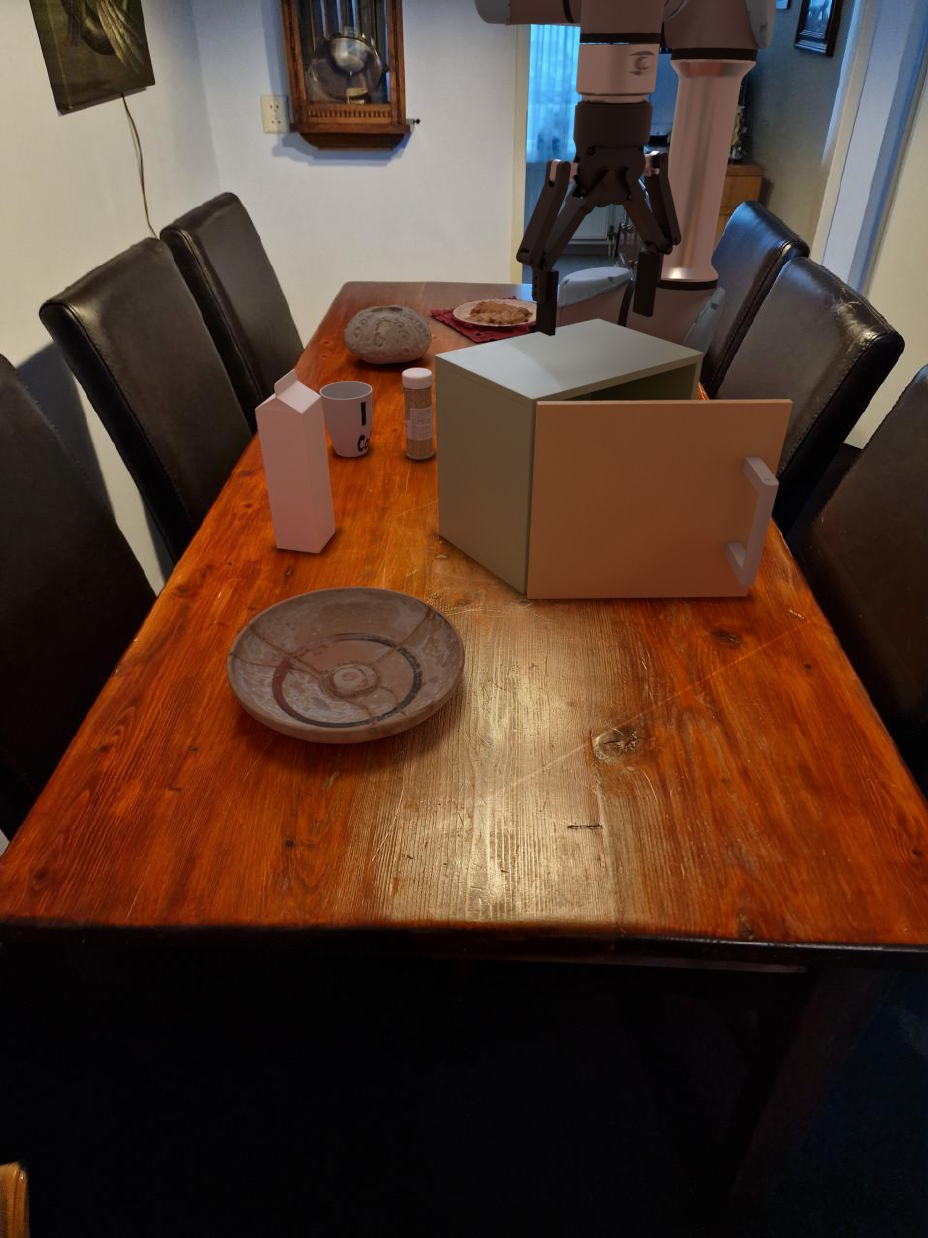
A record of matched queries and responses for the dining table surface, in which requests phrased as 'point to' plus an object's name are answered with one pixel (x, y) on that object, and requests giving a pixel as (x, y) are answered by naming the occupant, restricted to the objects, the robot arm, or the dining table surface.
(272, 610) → the ceramic bowl
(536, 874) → the dining table surface
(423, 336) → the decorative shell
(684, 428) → the door
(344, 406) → the cup
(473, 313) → the plate with food
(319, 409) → the milk
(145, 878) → the dining table surface
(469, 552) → the cabinet
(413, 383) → the sprinkles bottle
